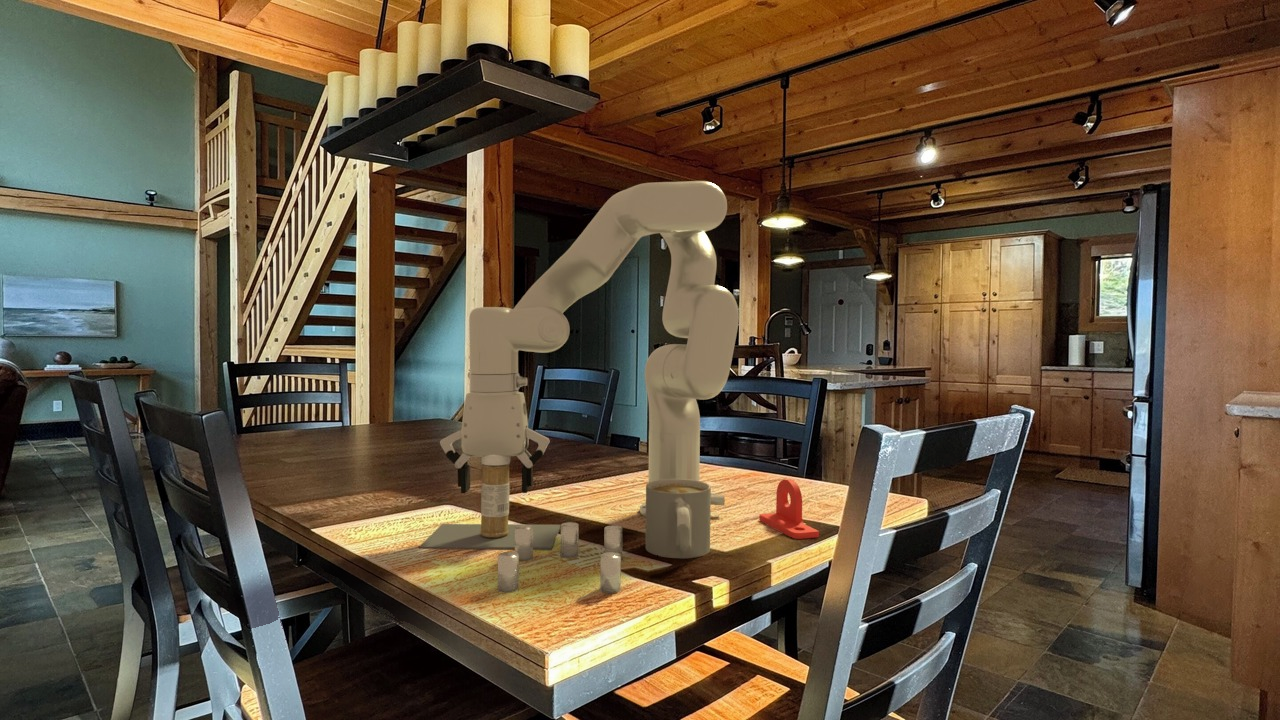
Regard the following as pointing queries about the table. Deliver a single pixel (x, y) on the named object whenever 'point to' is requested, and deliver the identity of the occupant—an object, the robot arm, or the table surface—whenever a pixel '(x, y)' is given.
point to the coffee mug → (678, 518)
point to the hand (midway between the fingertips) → (495, 491)
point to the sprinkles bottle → (495, 496)
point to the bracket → (789, 512)
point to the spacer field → (569, 549)
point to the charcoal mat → (472, 539)
